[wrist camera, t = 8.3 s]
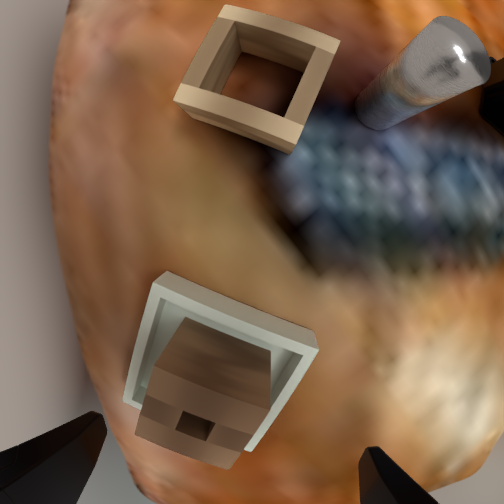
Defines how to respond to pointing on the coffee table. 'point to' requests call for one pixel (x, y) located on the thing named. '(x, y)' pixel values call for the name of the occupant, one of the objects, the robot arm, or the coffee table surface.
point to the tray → (227, 321)
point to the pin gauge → (425, 74)
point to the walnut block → (206, 395)
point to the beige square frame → (266, 46)
